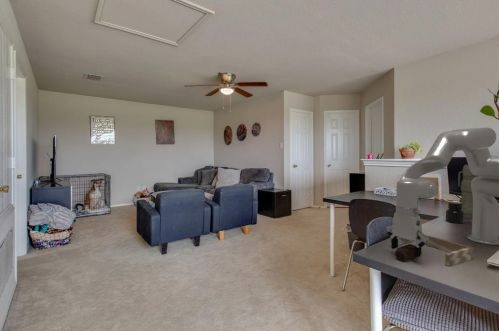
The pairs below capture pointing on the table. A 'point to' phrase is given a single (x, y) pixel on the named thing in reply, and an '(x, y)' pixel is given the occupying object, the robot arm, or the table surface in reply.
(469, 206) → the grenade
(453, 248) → the beige u-shaped frame
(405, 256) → the brick
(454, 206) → the ink bottle
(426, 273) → the table surface
